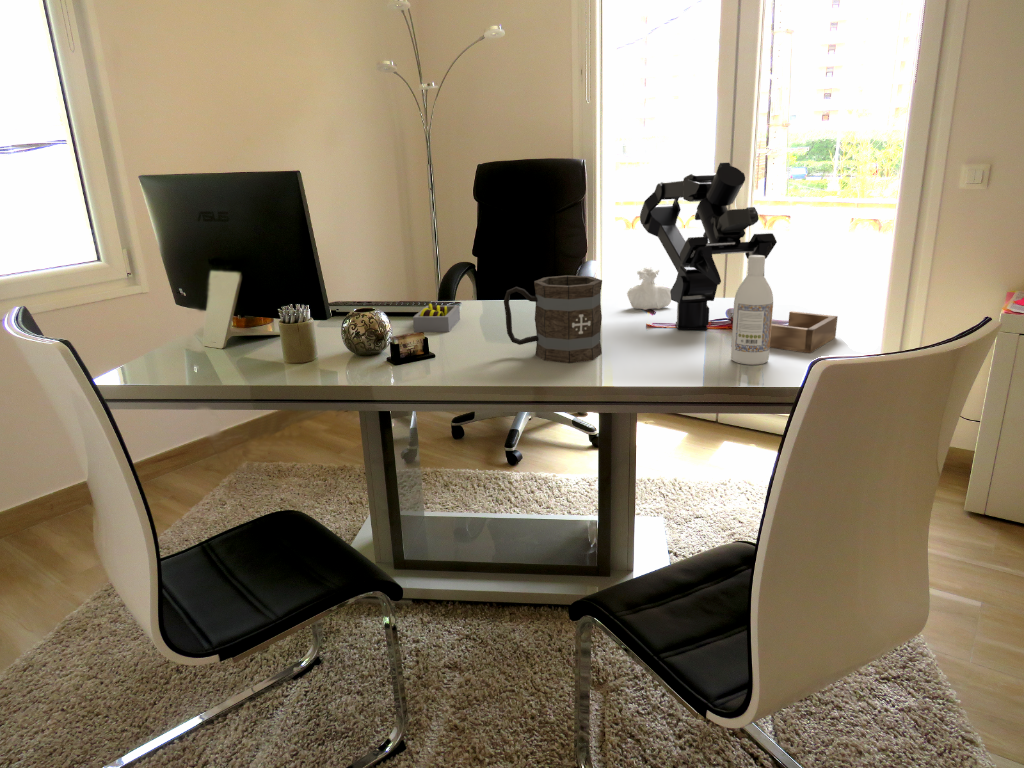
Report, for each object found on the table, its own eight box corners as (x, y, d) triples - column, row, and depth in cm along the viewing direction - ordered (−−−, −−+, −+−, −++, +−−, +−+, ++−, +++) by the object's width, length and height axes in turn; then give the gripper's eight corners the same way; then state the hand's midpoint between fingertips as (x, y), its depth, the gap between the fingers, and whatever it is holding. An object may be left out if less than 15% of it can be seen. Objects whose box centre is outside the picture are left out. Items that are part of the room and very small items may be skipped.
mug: (599, 345, 154) (600, 274, 150) (604, 362, 141) (604, 286, 137) (507, 346, 155) (505, 276, 151) (503, 364, 143) (500, 288, 138)
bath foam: (774, 364, 136) (782, 257, 130) (737, 366, 136) (744, 259, 130) (760, 355, 143) (768, 252, 137) (725, 356, 143) (732, 254, 137)
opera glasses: (441, 330, 172) (440, 310, 170) (420, 330, 172) (418, 310, 171) (450, 321, 181) (449, 301, 179) (429, 321, 182) (428, 302, 180)
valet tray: (414, 331, 171) (413, 317, 170) (427, 319, 184) (426, 305, 183) (449, 331, 170) (448, 317, 169) (460, 319, 183) (459, 305, 181)
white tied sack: (670, 314, 191) (661, 276, 195) (679, 301, 184) (670, 262, 188) (625, 317, 190) (618, 278, 193) (633, 303, 183) (625, 264, 186)
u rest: (762, 346, 149) (764, 324, 148) (789, 331, 160) (791, 311, 159) (810, 353, 143) (812, 330, 142) (835, 337, 154) (837, 316, 153)
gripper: (687, 195, 142) (711, 258, 134) (774, 191, 145) (802, 252, 138) (670, 234, 151) (691, 294, 144) (752, 229, 155) (777, 288, 147)
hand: (741, 281), depth 143 cm, fingers open, 9 cm apart
